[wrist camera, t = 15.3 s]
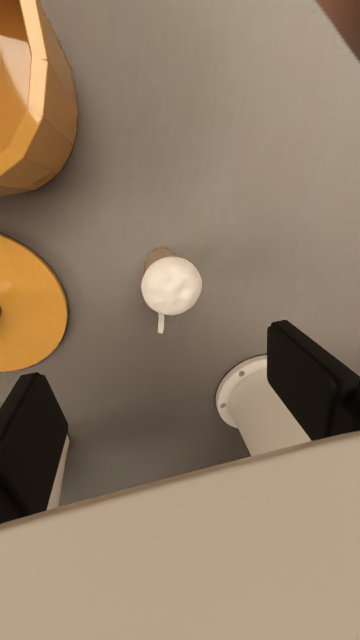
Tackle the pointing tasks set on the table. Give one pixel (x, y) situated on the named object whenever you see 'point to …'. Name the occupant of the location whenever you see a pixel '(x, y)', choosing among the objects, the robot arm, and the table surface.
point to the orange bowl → (33, 99)
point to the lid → (28, 307)
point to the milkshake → (169, 284)
